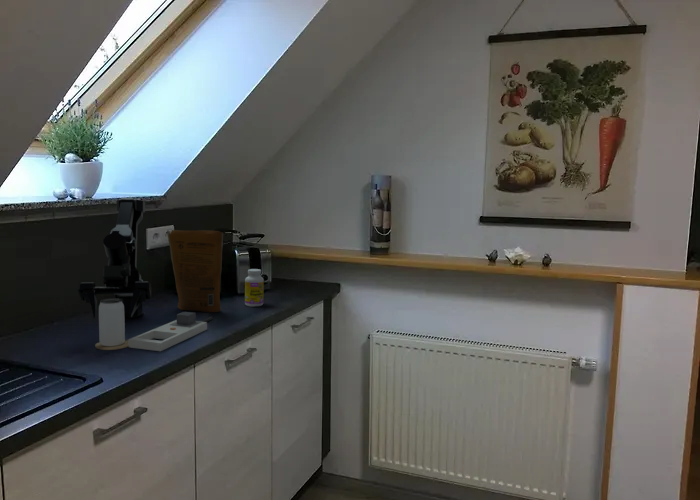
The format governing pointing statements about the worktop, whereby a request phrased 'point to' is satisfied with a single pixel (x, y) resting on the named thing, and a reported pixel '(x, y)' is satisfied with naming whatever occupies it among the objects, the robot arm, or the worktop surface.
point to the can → (111, 322)
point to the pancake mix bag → (197, 268)
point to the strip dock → (166, 335)
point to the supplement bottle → (254, 288)
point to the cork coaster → (112, 347)
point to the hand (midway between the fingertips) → (112, 317)
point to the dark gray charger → (186, 318)
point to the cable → (208, 319)
